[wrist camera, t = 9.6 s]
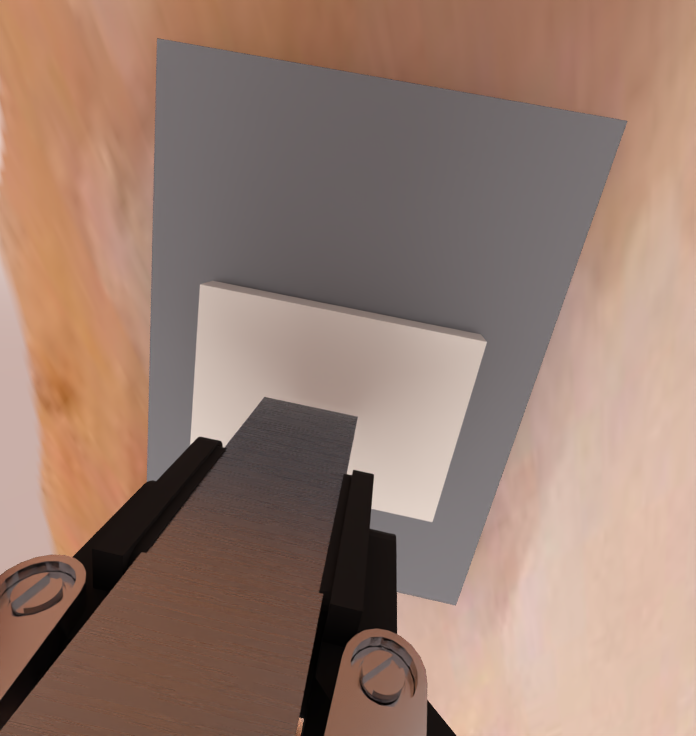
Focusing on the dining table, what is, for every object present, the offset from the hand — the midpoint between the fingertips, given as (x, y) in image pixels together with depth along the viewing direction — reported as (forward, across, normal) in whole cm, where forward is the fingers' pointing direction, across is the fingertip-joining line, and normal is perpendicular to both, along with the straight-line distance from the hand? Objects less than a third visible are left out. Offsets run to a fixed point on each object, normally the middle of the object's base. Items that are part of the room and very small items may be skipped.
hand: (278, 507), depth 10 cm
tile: (+9, 0, -4) cm, 10 cm away
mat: (+11, 0, 0) cm, 11 cm away
